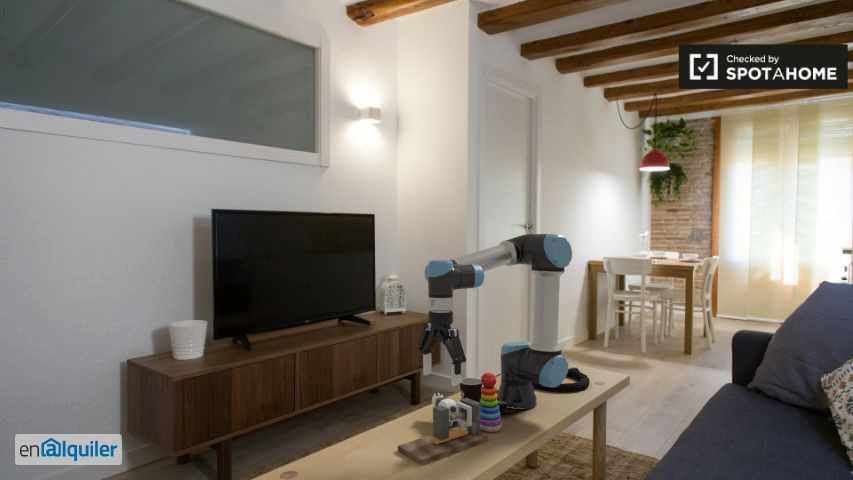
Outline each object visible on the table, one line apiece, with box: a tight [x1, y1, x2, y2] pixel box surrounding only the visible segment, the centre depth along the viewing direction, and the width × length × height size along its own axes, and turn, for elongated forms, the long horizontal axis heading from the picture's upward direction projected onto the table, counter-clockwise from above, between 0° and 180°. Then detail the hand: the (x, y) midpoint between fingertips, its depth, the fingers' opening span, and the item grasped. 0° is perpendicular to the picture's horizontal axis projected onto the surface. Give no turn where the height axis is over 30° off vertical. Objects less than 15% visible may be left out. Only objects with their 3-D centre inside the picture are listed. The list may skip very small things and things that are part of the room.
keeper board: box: [397, 398, 489, 466], centre depth 157 cm, size 26×12×12 cm, turn 128°
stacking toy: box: [480, 371, 503, 433], centre depth 170 cm, size 8×8×19 cm
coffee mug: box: [459, 377, 483, 404], centre depth 188 cm, size 12×9×10 cm
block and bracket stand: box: [430, 401, 472, 445], centre depth 158 cm, size 13×6×10 cm, turn 128°
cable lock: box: [532, 367, 590, 393], centre depth 221 cm, size 28×4×30 cm
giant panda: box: [431, 391, 460, 429], centre depth 176 cm, size 15×6×10 cm, turn 27°
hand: (441, 379), depth 156 cm, fingers open, 13 cm apart
